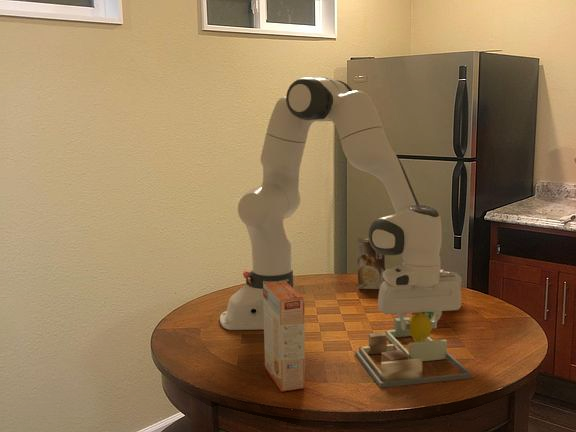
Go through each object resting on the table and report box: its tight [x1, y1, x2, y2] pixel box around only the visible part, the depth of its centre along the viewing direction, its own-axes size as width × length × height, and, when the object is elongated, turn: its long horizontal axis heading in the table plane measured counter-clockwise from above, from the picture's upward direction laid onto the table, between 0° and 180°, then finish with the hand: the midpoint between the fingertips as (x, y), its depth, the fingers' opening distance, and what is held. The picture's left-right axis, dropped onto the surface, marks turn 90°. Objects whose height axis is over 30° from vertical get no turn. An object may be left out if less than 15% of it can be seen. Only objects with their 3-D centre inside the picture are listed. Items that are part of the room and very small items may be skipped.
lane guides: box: [354, 350, 473, 388], centre depth 148 cm, size 21×19×1 cm
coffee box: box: [356, 237, 386, 290], centre depth 210 cm, size 9×6×16 cm
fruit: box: [409, 312, 433, 342], centre depth 153 cm, size 6×6×8 cm
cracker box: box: [263, 281, 306, 393], centre depth 141 cm, size 14×6×21 cm, turn 17°
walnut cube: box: [380, 350, 409, 363], centre depth 145 cm, size 4×4×4 cm
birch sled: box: [358, 332, 423, 382], centre depth 148 cm, size 9×18×4 cm, turn 11°
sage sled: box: [385, 316, 448, 362], centre depth 159 cm, size 9×18×4 cm, turn 11°
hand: (418, 328), depth 154 cm, fingers closed on fruit, 5 cm apart
